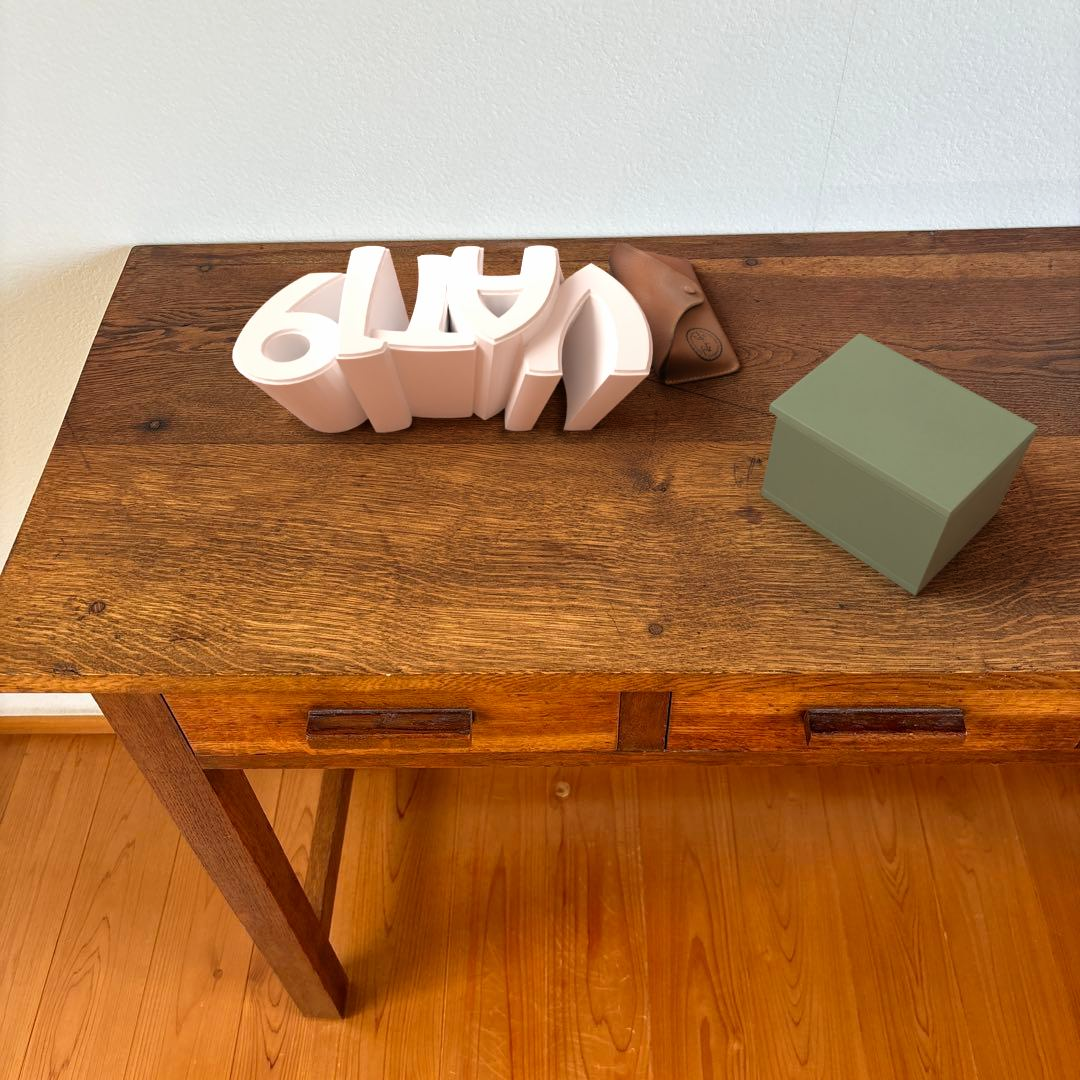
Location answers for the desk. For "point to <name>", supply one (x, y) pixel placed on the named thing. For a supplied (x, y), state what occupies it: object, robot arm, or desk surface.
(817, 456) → the box
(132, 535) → the desk surface
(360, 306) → the wavy white extrusion
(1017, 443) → the lid
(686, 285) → the sunglasses case
